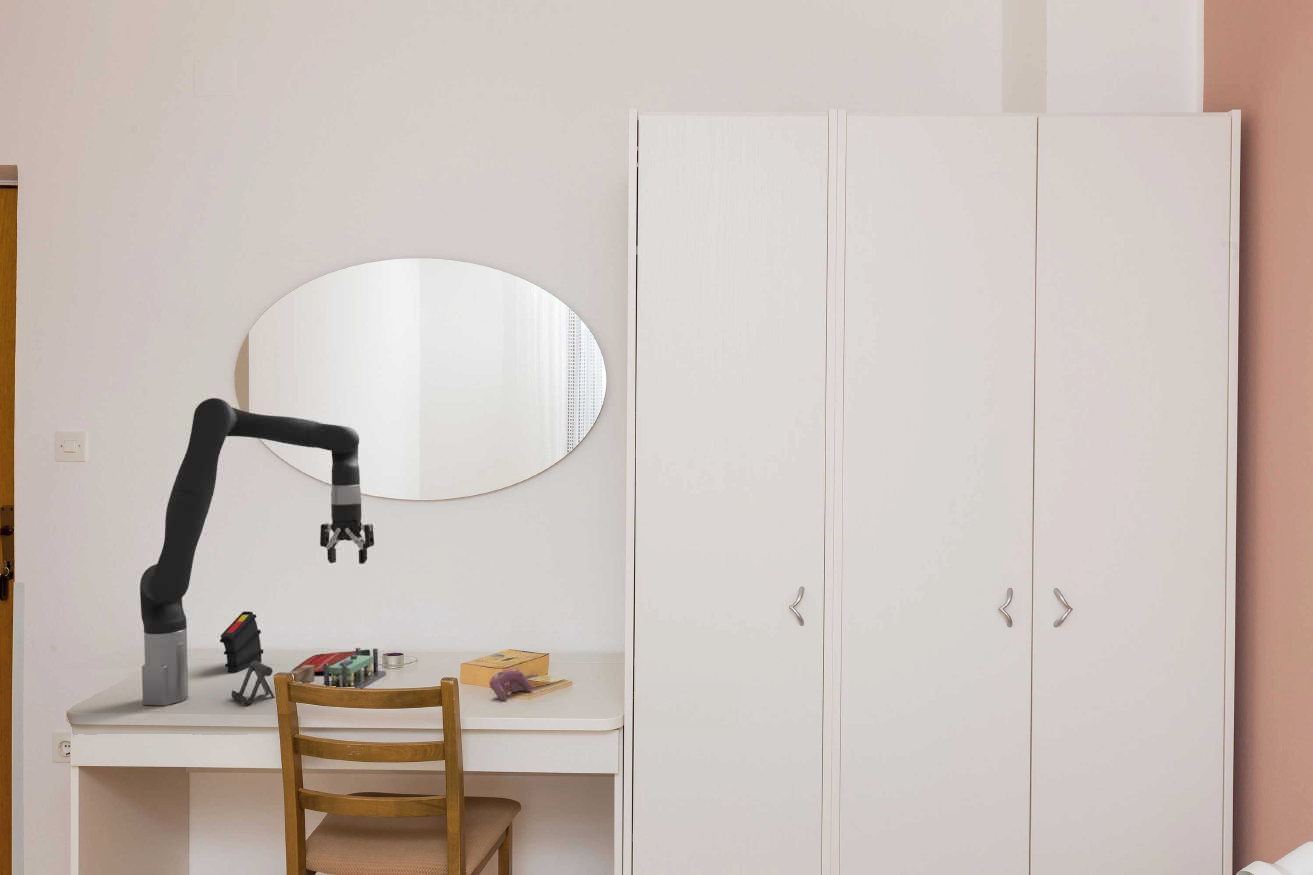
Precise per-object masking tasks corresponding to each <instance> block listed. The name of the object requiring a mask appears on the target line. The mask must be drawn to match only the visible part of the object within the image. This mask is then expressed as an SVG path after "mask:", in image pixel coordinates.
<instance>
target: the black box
mask: <svg viewBox="0 0 1313 875" xmlns="http://www.w3.org/2000/svg"><path fill="white" fill-rule="evenodd" d="M256 618H257V614H254V613H253V611H246V610H245V611H242V612H241V613H240V614H239V615H238V616H237V617H236V618H235V619H234V621H232V622H231V624H229V626H228V627H227V628H226V629H225V630H224V631H223V632H222V633H221V634H220V639H219V642H220V643H223V646H224V649H225V651H223V655H226V662H227V663H225V665H224V667H225V668H227V672H228V673H239V672H240V671H243V670H246V669H249V667H250V664H251V663H252V662H253V661H257V662H259V663H261V664H262V654H264V649H262V645H261V638H260V637H261V636H260V634H261V633H262V632H261V629H259V628H258V625H257V624H258V623H257V621H256Z"/></svg>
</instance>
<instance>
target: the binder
mask: <svg viewBox="0 0 1313 875" xmlns="http://www.w3.org/2000/svg"><path fill="white" fill-rule="evenodd" d="M351 655H356V650H353V651H351V650H349V651H342V652H341V651H339V652H330V653H319V654H315V655H311V657H308V658H307V659H305V660H304V661H303V662H300V663H299V664H298V665H297V666H295V667H294V668H293V669H292V670H291V671H294V670H296V669H298V668H300V667H302V666H304V665H314V677H324V664H325V663H329V667H330V666H332V665H334V664H336V663H338V662H340V661H342V660H344V659H346V658H348V657H350V656H351ZM360 655H361V656H371V650H370V649H360ZM329 677H331V674H329Z"/></svg>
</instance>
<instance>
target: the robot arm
mask: <svg viewBox="0 0 1313 875" xmlns="http://www.w3.org/2000/svg"><path fill="white" fill-rule="evenodd" d="M191 424H192V425H191V432H190V435H189V440H188V441H189V442H188V446H187V449H186V452H185V455H184V458H183V459H182V462H181V464H180V466H179V469H178V472H177V475H176V477H175V479H174V482H173V486H172V488H171V492H170V495H169V497H168V498H169V499H168V502H167V506H166V511H165V522H164V524H165V525H164V539H163V540H164V542H163V546H162V549H161V552H160V555H159V558H158V561H157V563H156V564H153V565H151V566H149V567H148V568H147V569H146V570H145V571H144V572H143V574H142V576H141V578H140V584H139V597H140V598H139V599H140V615H141V620H142V624H143V625H142V626H143V638H144V639H143V640H144V641H143V642H144V643H143V644H144V645H143V646H144V647H143V648H144V653H143V654H144V664H143V665H142V666H141V681H142V683H141V684H142V686H141V687H142V705H145V706H159V707H160V706H161V707H164V706H168V705H171V704H176V703H180V702H182V701H185V700H187V699H188V698H189V672H188V666H189V664H188V633H187V632H188V631H187V630H188V629H187V628H188V626H187V617H186V614H185V611H184V606H183V597H184V596H185V595H186V593H187V591H188V590H189V586H190V580H191V577H192V569H193V563H194V559H195V554H196V550H197V547H198V543H199V540H200V538H201V536H202V532H203V529H204V526H205V522H206V519H207V516H208V513H209V510H210V507H211V503H212V500H213V498H214V497H213V496H214V493H215V488H216V484H217V483H216V481H217V475H218V465H219V464H218V463H219V457H220V455H221V452H222V451H221V450H222V448H223V445H224V442H225V440H226V438H227V437H243V438H244V437H245V438H252V439H253V438H255V439H261V440H267V441H272V442H277V443H281V444H286V445H292V446H298V447H306V448H315V449H316V448H317V449H321V450H326V451H330V452H331V462H332V463H331V464H332V466H331V490H330V491H331V492H330V501H331V502H330V509H331V510H330V511H331V524H330V523H328V522H325V523H323V524H320V537H319V539H320V540H319V545H320V547H323V548H326V551H327V561H328V562H329V564H334V563H336V562H337V548H336V546H337V545H338V543H339V542H340V541H348V542H350V541H352V542H353V543H354V544H355V545H356V546H357V547H358V548H359V549H358V564H361V565H363V564H366V561H367V560H368V549H369V548H371V547H373V546H374V545H375V537H374V536H375V535H374V525H373V524H372V523H366V524H362V493H361V491H362V490H361V485H360V482H361V479H360V478H361V477H360V476H361V475H360V473H361V472H360V466H359V445H360V436H359V434H358V432H357V431H356V430H355V429H354V428H352V427H350V426H345V425H337V424H329V423H322V422H318V421H315V420H311V419H306V418H305V419H304V418H299V417H292V416H280V415H268V414H267V415H266V414H259V413H254V412H253V413H252V412H248V411H245V410H242V409H239V408H235V407H232V406H231V405H230V403H229V402H227V401H225V400H224V399H222V398H217V397H216V398H215V397H212V398H207V399H205V400H203V401H201V402H200V403H199V404H198V405H197V406H196V408H195V410H194V413H193V418H192V423H191ZM331 531H332V533H333V534H332V536H331V537H330V534H331ZM361 531H362V532H363V533H364V536H363V535H362V533H361Z"/></svg>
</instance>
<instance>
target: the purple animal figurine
mask: <svg viewBox="0 0 1313 875" xmlns="http://www.w3.org/2000/svg"><path fill="white" fill-rule="evenodd" d="M508 683H509V684H508ZM506 684H508V686H507V685H506ZM489 687H490V689H491V690H492V691H493V693H494V694H495V695H496V697H497V698H498V699H499V700H501V701H506V699H507V695H508V694H509V692H510V693H512V694H513V693H517V692H518V691H519V687H520V688H522V690H523V691H525V692H526V693H527V692H528V693H531V692H532V690H533V689H532V687H533V686H532V685H531V683H530V681H529V680H528V679H527V678H526V676H525V675H524V674H523V672H522V671H520V670H519V669H506V670H503V671H500V672H498V673H496V674H495V675H493V676H492V677H491V678H490V680H489Z"/></svg>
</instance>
